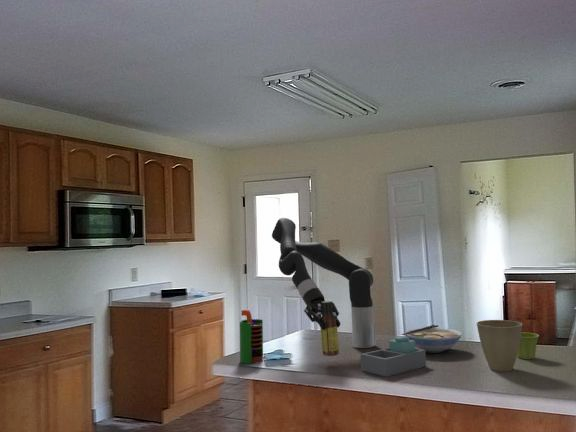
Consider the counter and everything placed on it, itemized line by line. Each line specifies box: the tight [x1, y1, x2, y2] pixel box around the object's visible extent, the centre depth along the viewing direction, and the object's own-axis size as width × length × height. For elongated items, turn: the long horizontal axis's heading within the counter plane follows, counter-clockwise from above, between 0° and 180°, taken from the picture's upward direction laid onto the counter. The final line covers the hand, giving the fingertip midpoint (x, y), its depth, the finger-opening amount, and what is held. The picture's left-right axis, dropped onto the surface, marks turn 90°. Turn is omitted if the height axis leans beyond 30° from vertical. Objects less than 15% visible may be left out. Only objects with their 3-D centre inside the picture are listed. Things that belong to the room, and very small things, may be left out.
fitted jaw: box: [388, 335, 416, 354], centre depth 201 cm, size 6×7×9 cm
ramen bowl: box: [400, 324, 463, 354], centre depth 224 cm, size 25×23×8 cm
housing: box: [359, 347, 427, 377], centre depth 198 cm, size 21×12×6 cm, turn 127°
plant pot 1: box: [476, 319, 523, 373], centre depth 192 cm, size 15×15×16 cm
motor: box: [239, 309, 264, 365], centre depth 217 cm, size 10×9×20 cm
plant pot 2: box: [516, 331, 540, 360], centre depth 207 cm, size 9×9×9 cm
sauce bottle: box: [320, 300, 340, 357], centre depth 206 cm, size 7×6×20 cm
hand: (331, 327), depth 205 cm, fingers closed on sauce bottle, 6 cm apart
